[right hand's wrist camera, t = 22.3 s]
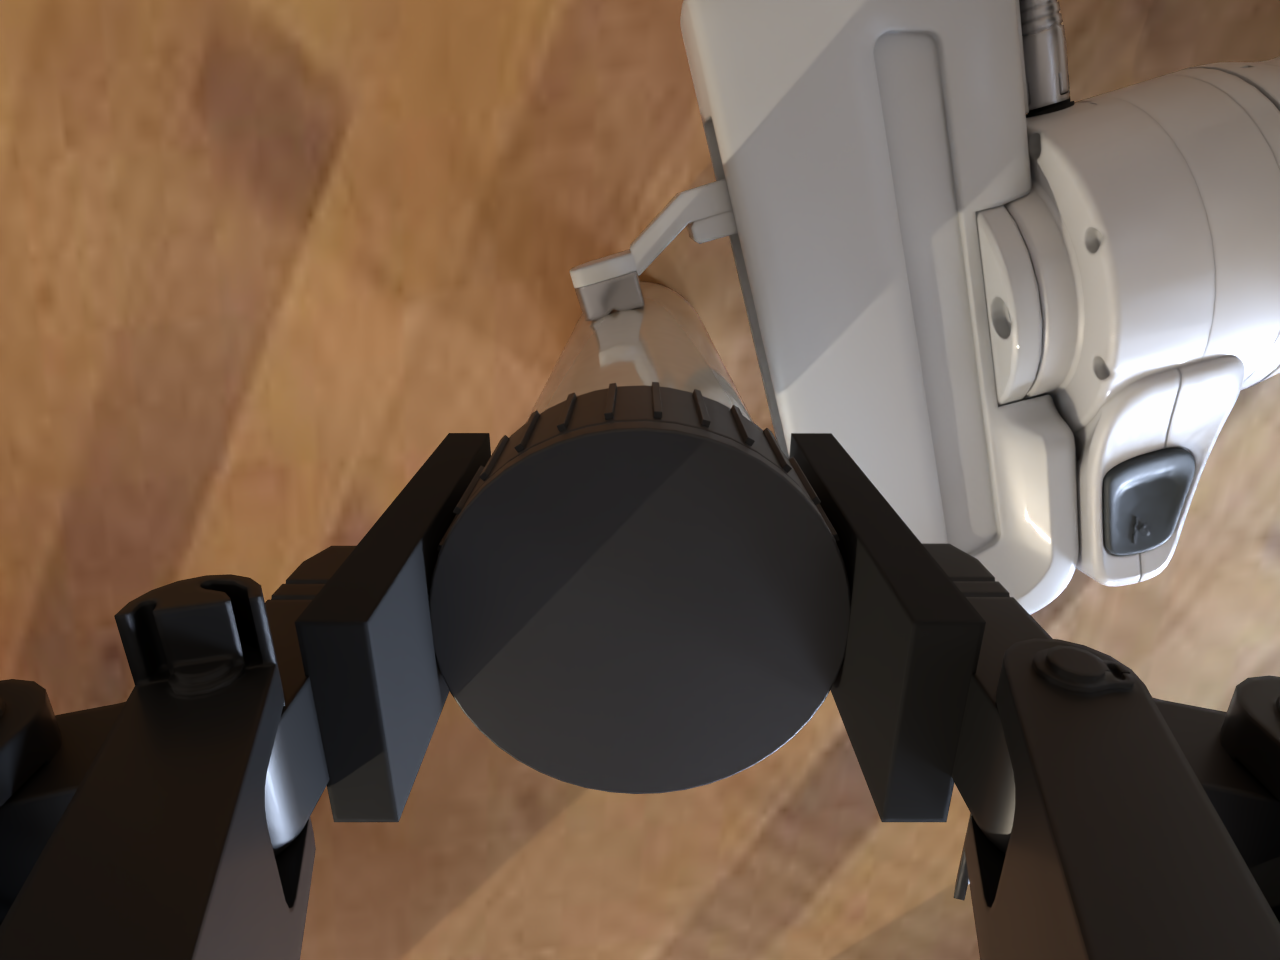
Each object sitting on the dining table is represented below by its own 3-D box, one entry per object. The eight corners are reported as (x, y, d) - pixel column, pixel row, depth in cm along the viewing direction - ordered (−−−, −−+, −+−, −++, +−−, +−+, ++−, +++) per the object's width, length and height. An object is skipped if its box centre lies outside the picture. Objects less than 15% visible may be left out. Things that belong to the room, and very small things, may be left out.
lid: (841, 383, 11) (888, 427, 9) (799, 706, 13) (831, 803, 11) (448, 374, 11) (402, 415, 9) (471, 698, 13) (439, 795, 11)
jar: (584, 268, 27) (484, 390, 10) (722, 297, 27) (864, 464, 10) (562, 403, 29) (443, 710, 11) (691, 428, 29) (766, 761, 12)
